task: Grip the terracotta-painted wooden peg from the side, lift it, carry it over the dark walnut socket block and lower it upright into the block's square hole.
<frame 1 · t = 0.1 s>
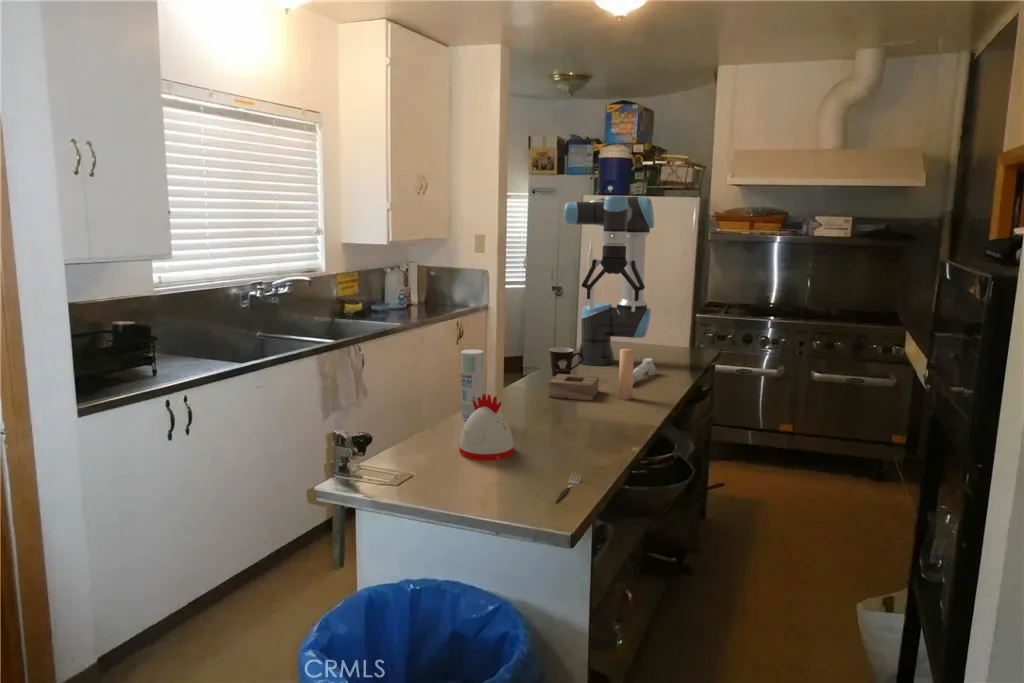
hand: (612, 310, 245), 28 cm above the counter, tool pointing down, fingers open, 13 cm apart
kitchen timer: (486, 452, 191), on the counter
fork: (566, 492, 165), on the counter
toothbrush head: (638, 380, 270), on the counter
coffee mug: (565, 377, 273), on the counter
peg: (625, 398, 243), on the counter
socket block: (574, 394, 249), on the counter
spray can: (472, 418, 220), on the counter
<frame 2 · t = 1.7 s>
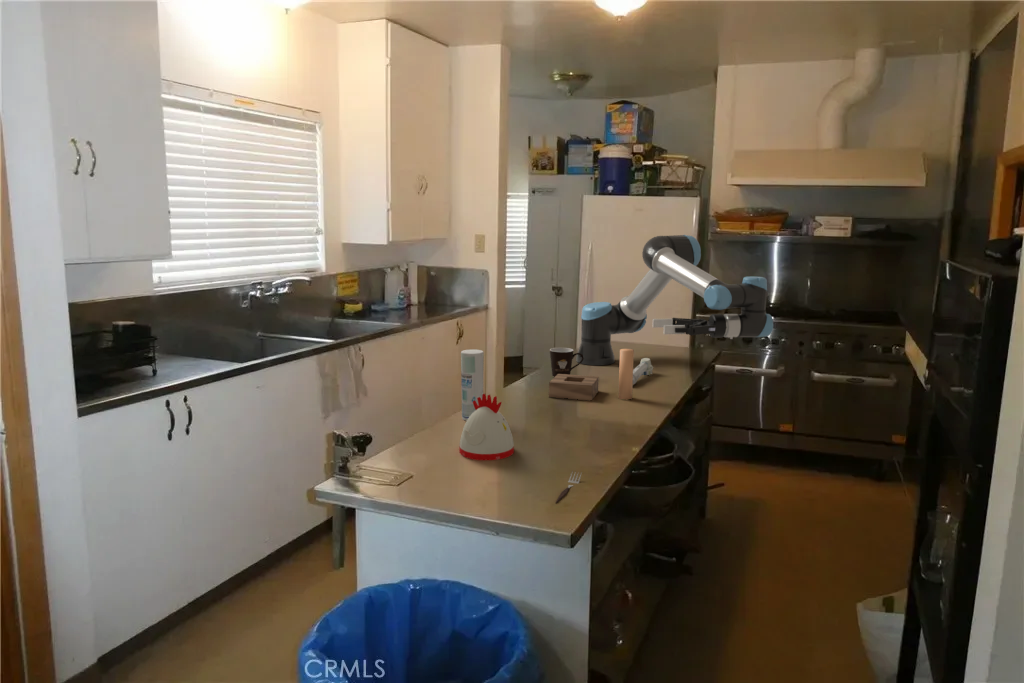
hand: (658, 326, 240), 24 cm above the counter, tool horizontal, fingers open, 13 cm apart
nothing on the counter moved.
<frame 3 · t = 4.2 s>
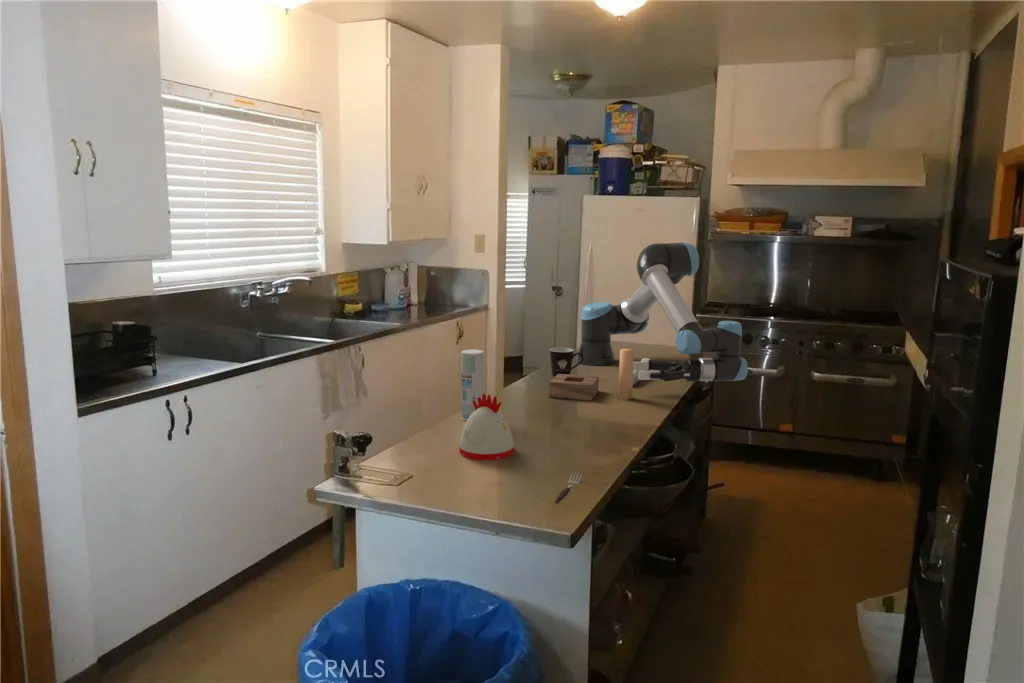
hand: (633, 370, 241), 9 cm above the counter, tool horizontal, fingers open, 13 cm apart
nothing on the counter moved.
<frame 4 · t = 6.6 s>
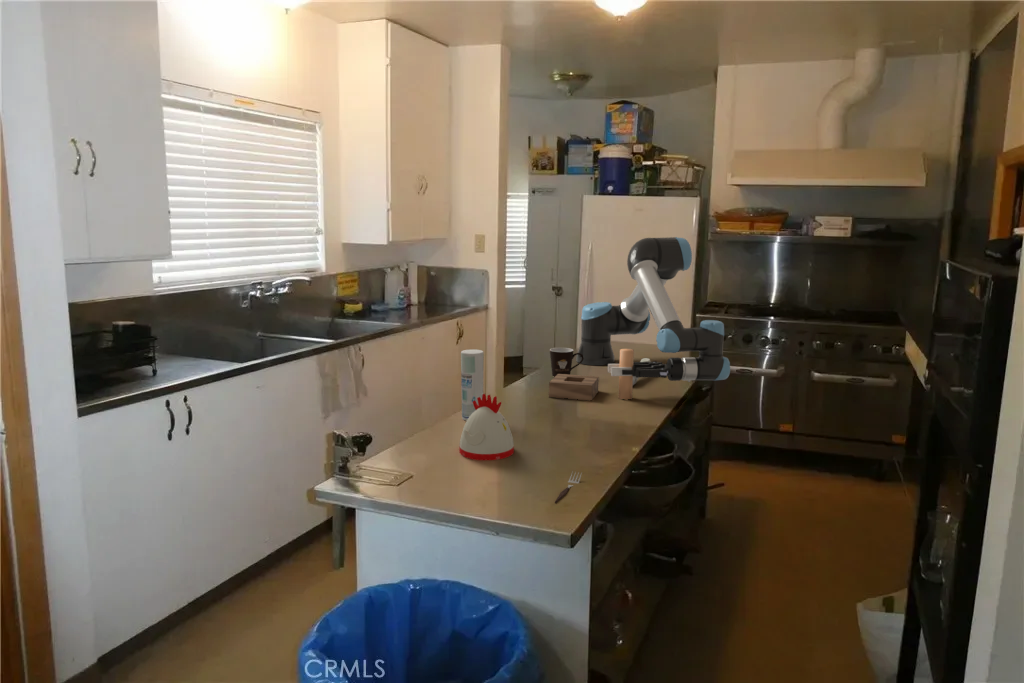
hand: (609, 369, 241), 10 cm above the counter, tool horizontal, fingers closed on peg, 4 cm apart
peg: (625, 398, 243), on the counter, touching gripper
everything else where it was.
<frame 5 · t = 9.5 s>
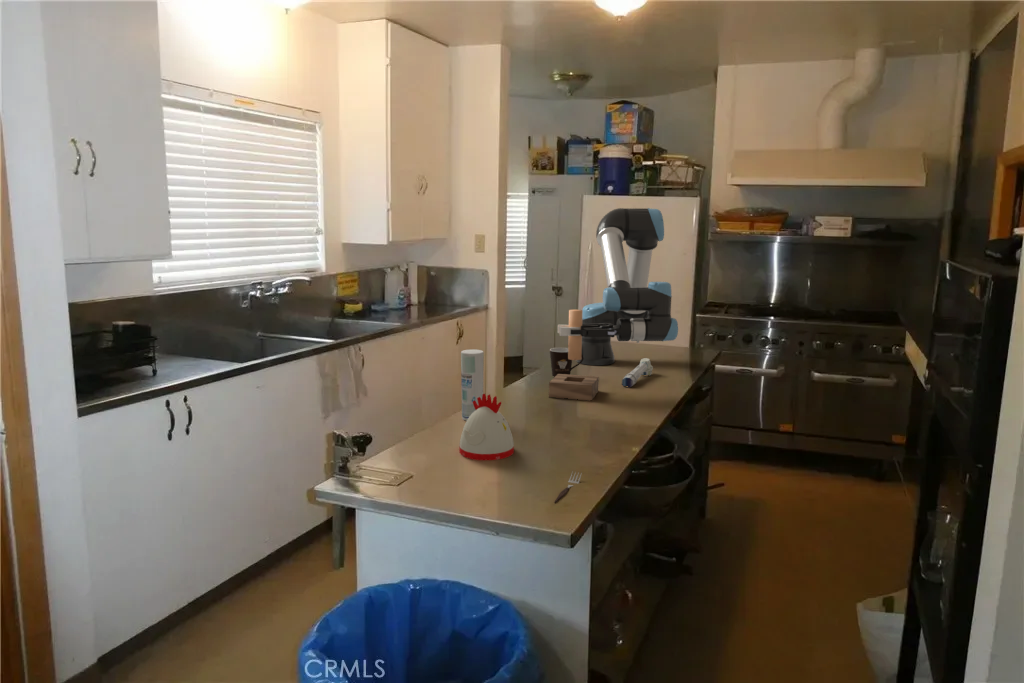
hand: (559, 330, 244), 22 cm above the counter, tool horizontal, fingers closed on peg, 4 cm apart
peg: (574, 358, 246), point 12 cm above the counter, touching gripper
everything else where it was.
when the fingers open (11 cm above the counter, at t = 12.4 s): peg drops 1 cm, resting in socket block.
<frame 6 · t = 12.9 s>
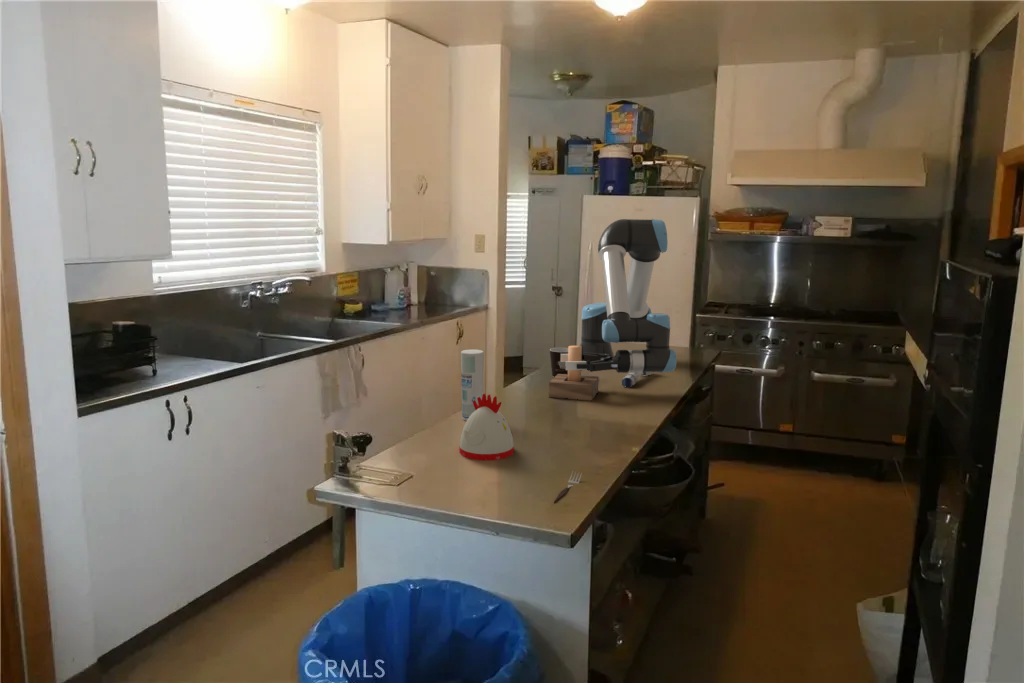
hand: (563, 361, 246), 11 cm above the counter, tool horizontal, fingers open, 11 cm apart
peg: (574, 394, 249), resting in socket block
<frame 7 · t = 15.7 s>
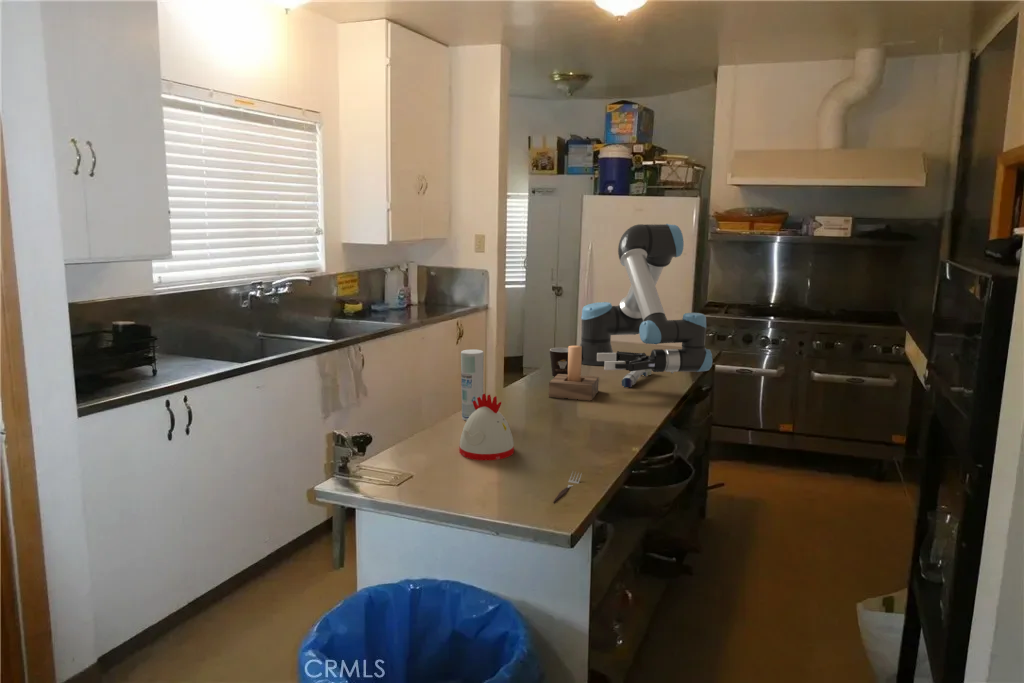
hand: (600, 361, 247), 11 cm above the counter, tool horizontal, fingers open, 13 cm apart
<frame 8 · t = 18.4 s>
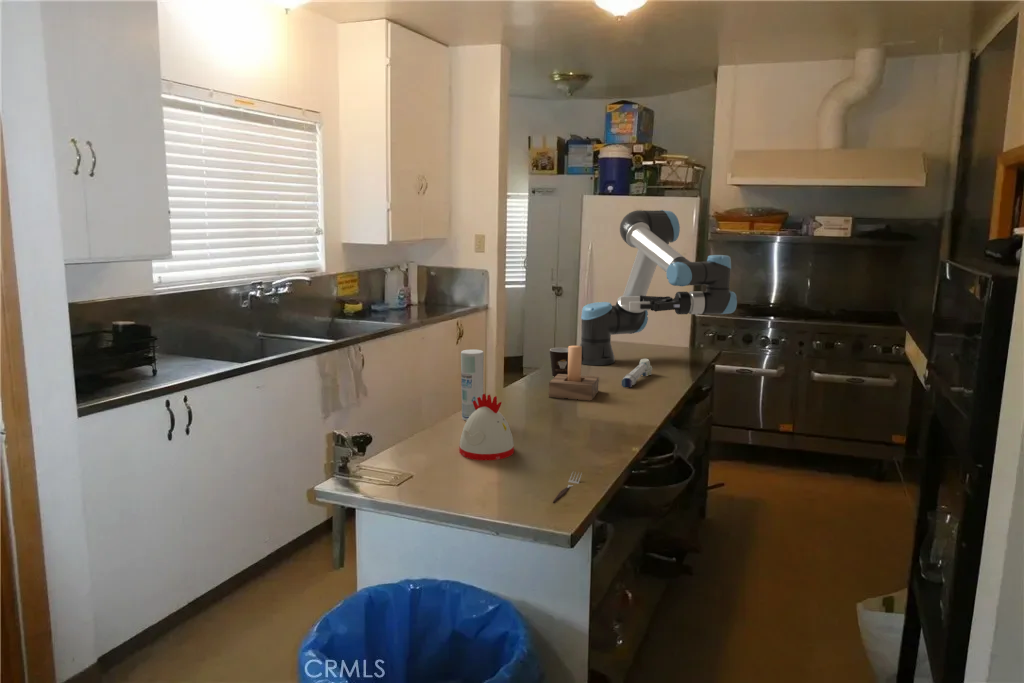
hand: (624, 303, 246), 30 cm above the counter, tool horizontal, fingers open, 13 cm apart
at the end: peg 0.0 cm off-centre on the socket block, point 0.0 cm above the socket block's base; peg tilted 0°; the gripper is holding nothing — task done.
